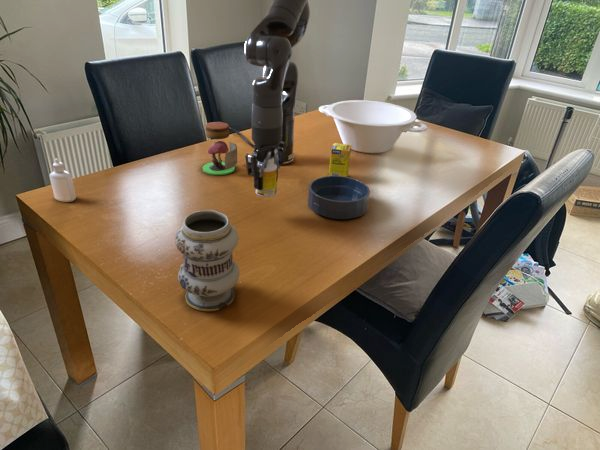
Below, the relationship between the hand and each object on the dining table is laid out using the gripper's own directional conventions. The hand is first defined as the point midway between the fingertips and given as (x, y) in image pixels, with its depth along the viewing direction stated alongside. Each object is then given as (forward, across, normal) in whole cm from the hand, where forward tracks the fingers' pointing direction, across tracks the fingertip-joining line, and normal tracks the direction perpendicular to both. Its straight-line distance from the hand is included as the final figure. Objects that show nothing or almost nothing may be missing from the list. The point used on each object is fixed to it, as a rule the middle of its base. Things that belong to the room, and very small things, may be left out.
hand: (265, 184), depth 118 cm
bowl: (+10, -18, +12) cm, 24 cm away
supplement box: (+10, -36, +2) cm, 37 cm away
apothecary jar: (+9, +34, +12) cm, 37 cm away
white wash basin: (+10, -71, -5) cm, 72 cm away
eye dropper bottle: (+10, +27, -49) cm, 57 cm away
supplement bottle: (+3, 0, 0) cm, 3 cm away
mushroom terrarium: (+10, -16, -32) cm, 37 cm away
